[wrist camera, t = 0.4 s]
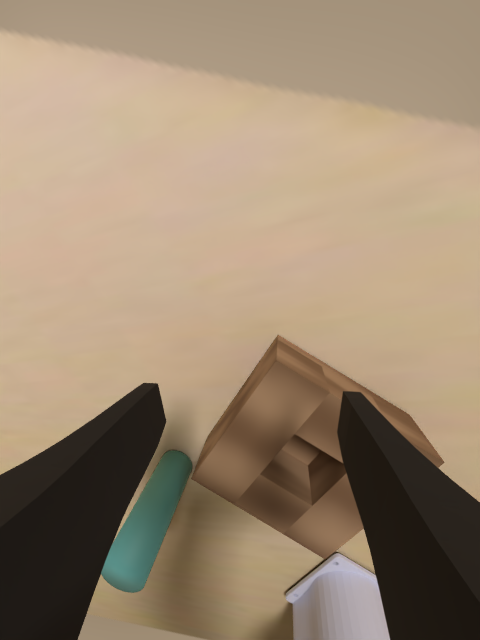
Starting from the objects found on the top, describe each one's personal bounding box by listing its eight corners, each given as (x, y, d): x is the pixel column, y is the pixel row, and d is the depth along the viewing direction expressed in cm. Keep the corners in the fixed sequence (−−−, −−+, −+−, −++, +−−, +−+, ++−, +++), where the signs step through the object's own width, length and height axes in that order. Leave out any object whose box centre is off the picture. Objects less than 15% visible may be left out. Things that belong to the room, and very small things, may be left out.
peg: (183, 481, 26) (134, 599, 17) (156, 465, 26) (93, 575, 17) (197, 461, 25) (152, 577, 16) (169, 445, 25) (109, 551, 16)
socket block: (317, 502, 24) (325, 559, 19) (208, 436, 23) (191, 478, 19) (409, 414, 20) (444, 462, 15) (278, 334, 20) (276, 360, 15)
